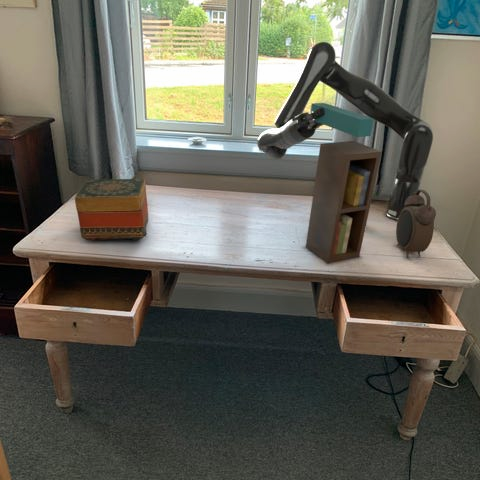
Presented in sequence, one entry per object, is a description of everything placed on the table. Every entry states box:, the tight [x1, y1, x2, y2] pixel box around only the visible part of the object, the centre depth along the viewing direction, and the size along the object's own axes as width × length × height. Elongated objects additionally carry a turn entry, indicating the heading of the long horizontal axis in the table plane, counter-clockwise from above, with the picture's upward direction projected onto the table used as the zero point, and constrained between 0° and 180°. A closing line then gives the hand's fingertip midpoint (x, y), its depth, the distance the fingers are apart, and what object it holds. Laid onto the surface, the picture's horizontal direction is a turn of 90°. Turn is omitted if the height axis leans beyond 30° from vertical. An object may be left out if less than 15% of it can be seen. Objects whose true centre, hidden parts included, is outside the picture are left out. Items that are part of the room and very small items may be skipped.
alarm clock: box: [395, 189, 437, 259], centre depth 148 cm, size 14×7×20 cm, turn 5°
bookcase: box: [305, 140, 383, 265], centre depth 142 cm, size 12×12×32 cm
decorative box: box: [74, 178, 149, 242], centre depth 149 cm, size 20×22×16 cm
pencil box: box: [310, 102, 375, 138], centre depth 134 cm, size 22×5×4 cm, turn 28°
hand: (330, 110), depth 137 cm, fingers closed on pencil box, 4 cm apart
